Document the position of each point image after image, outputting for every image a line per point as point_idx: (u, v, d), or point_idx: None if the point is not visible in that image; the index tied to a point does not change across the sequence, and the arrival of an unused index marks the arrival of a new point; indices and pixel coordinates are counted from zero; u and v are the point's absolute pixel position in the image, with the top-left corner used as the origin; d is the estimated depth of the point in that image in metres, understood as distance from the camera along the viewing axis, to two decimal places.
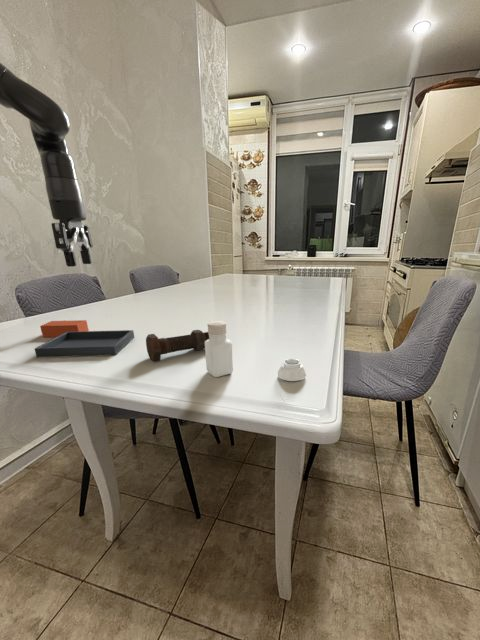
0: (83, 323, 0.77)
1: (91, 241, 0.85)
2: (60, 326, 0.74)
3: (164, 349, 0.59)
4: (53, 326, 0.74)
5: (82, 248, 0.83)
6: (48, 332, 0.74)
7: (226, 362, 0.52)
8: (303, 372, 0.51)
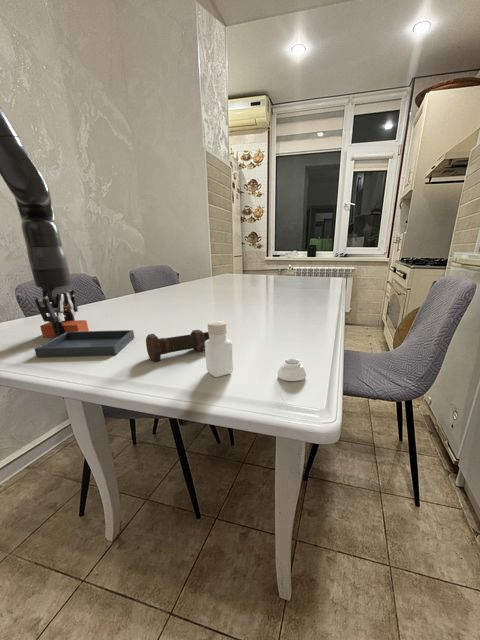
0: (83, 323, 0.77)
1: None
2: None
3: (164, 349, 0.59)
4: None
5: (66, 314, 0.78)
6: (48, 332, 0.74)
7: (226, 362, 0.52)
8: (303, 372, 0.51)
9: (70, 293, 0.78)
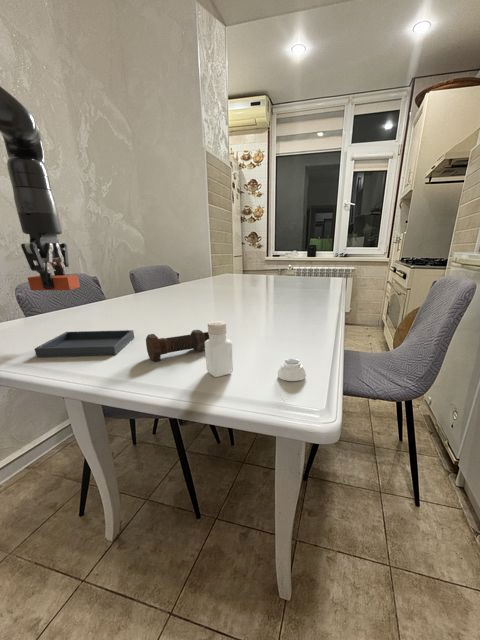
0: (74, 277, 0.73)
1: (67, 260, 0.76)
2: None
3: (164, 349, 0.59)
4: None
5: (56, 267, 0.73)
6: (36, 284, 0.69)
7: (226, 362, 0.52)
8: (303, 372, 0.51)
9: (60, 246, 0.74)
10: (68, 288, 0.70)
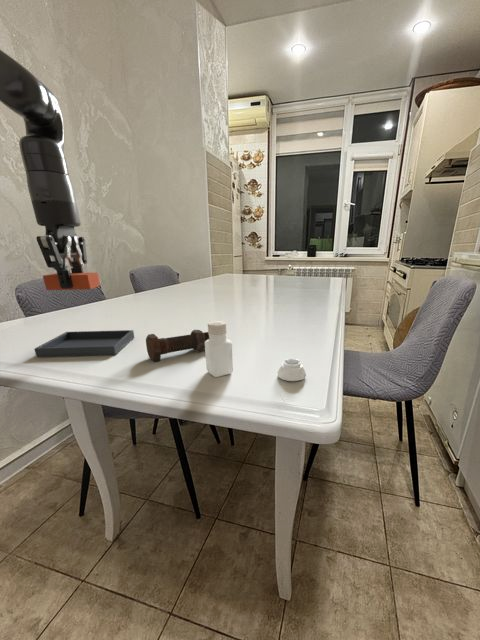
0: (94, 275, 0.64)
1: (86, 256, 0.67)
2: None
3: (164, 349, 0.59)
4: None
5: (73, 264, 0.65)
6: (52, 283, 0.61)
7: (226, 362, 0.52)
8: (303, 372, 0.51)
9: (78, 240, 0.66)
10: (88, 287, 0.62)
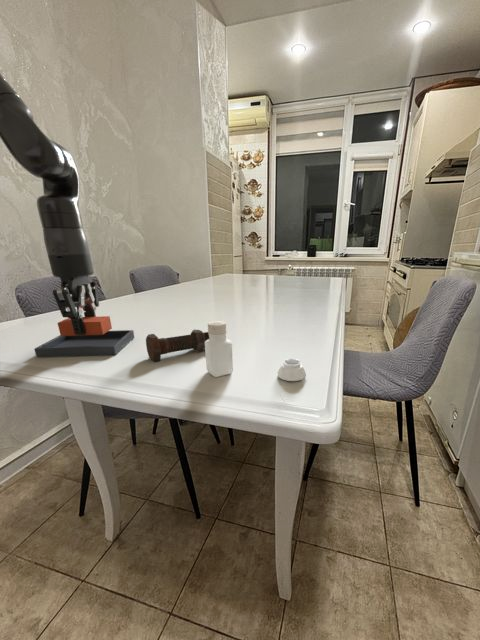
0: (106, 319, 0.66)
1: (98, 299, 0.69)
2: None
3: (164, 349, 0.59)
4: None
5: (86, 309, 0.67)
6: (67, 330, 0.63)
7: (226, 362, 0.52)
8: (303, 372, 0.51)
9: (90, 285, 0.68)
10: (101, 333, 0.64)
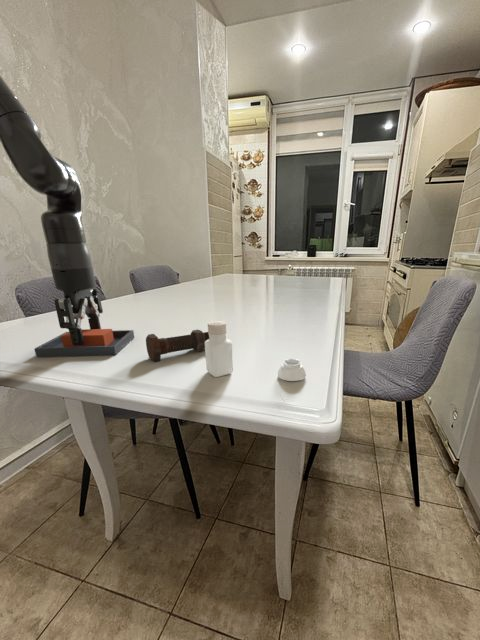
0: (109, 332, 0.68)
1: (101, 306, 0.71)
2: (84, 336, 0.64)
3: (164, 349, 0.59)
4: None
5: (90, 316, 0.69)
6: (70, 343, 0.64)
7: (226, 362, 0.52)
8: (303, 372, 0.51)
9: (92, 294, 0.69)
10: None
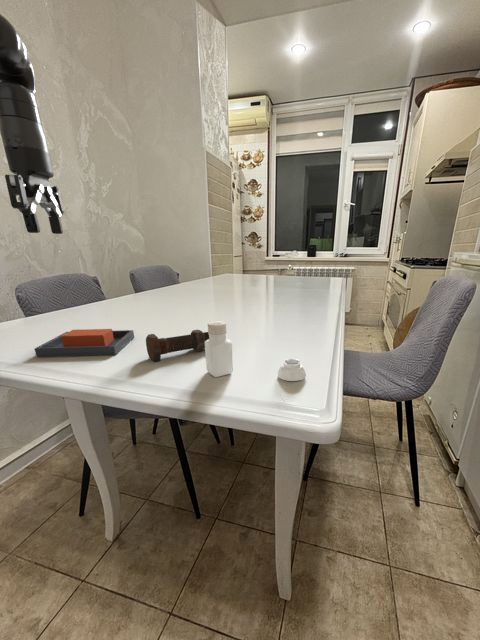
0: (109, 332, 0.68)
1: (63, 206, 0.70)
2: (84, 336, 0.64)
3: (164, 349, 0.59)
4: (76, 336, 0.64)
5: (51, 214, 0.68)
6: (70, 343, 0.64)
7: (226, 362, 0.52)
8: (303, 372, 0.51)
9: (53, 190, 0.67)
10: None
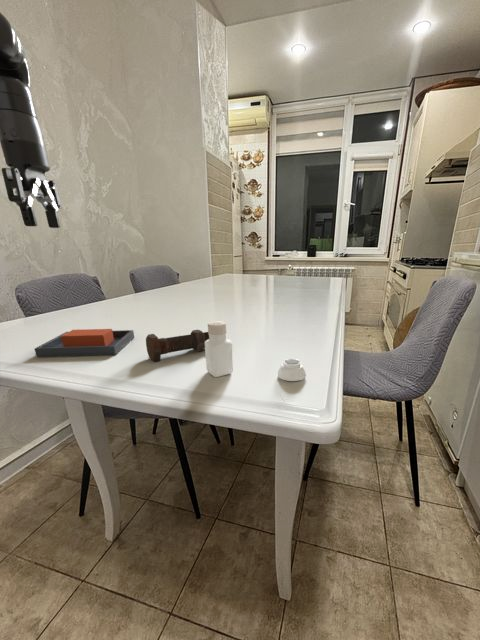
0: (109, 332, 0.68)
1: (59, 201, 0.70)
2: (84, 336, 0.64)
3: (164, 349, 0.59)
4: (76, 336, 0.64)
5: (47, 208, 0.68)
6: (70, 343, 0.64)
7: (226, 362, 0.52)
8: (303, 372, 0.51)
9: (49, 184, 0.68)
10: None
